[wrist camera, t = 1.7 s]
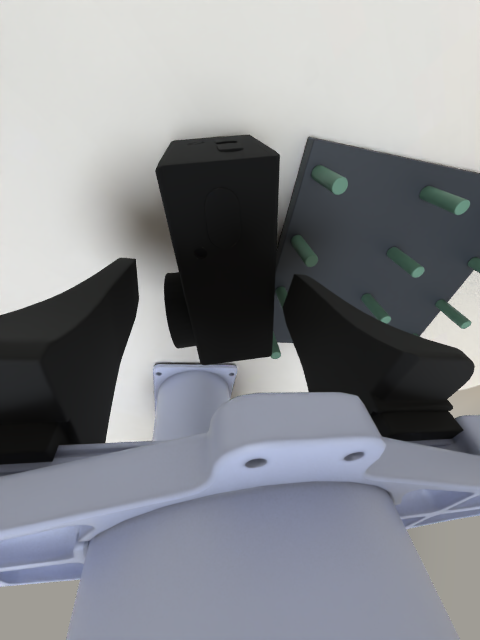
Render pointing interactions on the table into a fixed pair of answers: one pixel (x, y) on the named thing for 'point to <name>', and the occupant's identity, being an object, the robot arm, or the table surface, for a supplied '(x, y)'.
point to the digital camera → (221, 245)
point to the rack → (379, 235)
